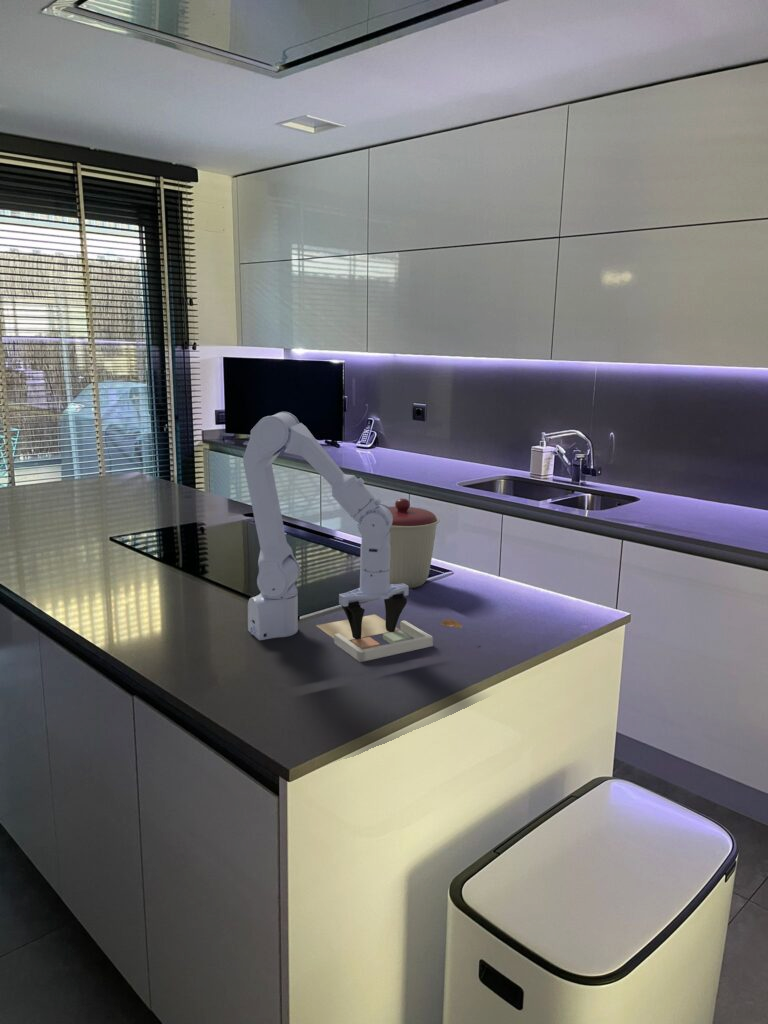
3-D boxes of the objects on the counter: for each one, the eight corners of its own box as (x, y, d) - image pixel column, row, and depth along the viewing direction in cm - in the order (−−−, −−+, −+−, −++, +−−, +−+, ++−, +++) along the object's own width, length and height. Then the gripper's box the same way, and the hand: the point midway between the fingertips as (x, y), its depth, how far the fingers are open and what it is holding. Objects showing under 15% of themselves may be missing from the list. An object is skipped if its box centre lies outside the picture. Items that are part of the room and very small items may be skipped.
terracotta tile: (361, 655, 145) (361, 647, 144) (351, 647, 148) (351, 640, 148) (379, 651, 147) (379, 643, 146) (369, 644, 150) (369, 636, 150)
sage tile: (393, 648, 148) (393, 640, 148) (382, 641, 152) (382, 633, 151) (410, 644, 150) (411, 637, 150) (399, 637, 154) (400, 630, 153)
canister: (443, 576, 196) (447, 494, 192) (428, 598, 179) (431, 509, 175) (375, 569, 201) (376, 489, 196) (353, 590, 184) (355, 503, 179)
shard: (439, 614, 170) (440, 607, 170) (474, 618, 168) (474, 610, 168) (430, 632, 160) (430, 624, 160) (466, 636, 158) (467, 628, 158)
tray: (359, 668, 140) (360, 652, 140) (334, 648, 149) (334, 634, 148) (432, 651, 149) (433, 636, 148) (404, 634, 157) (404, 620, 156)
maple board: (338, 647, 149) (338, 642, 149) (315, 631, 158) (315, 625, 157) (400, 635, 156) (400, 629, 156) (374, 619, 165) (374, 614, 165)
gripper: (352, 578, 141) (351, 648, 144) (418, 568, 149) (415, 635, 152) (334, 568, 147) (333, 636, 150) (398, 559, 155) (396, 623, 158)
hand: (373, 634), depth 151 cm, fingers open, 7 cm apart
